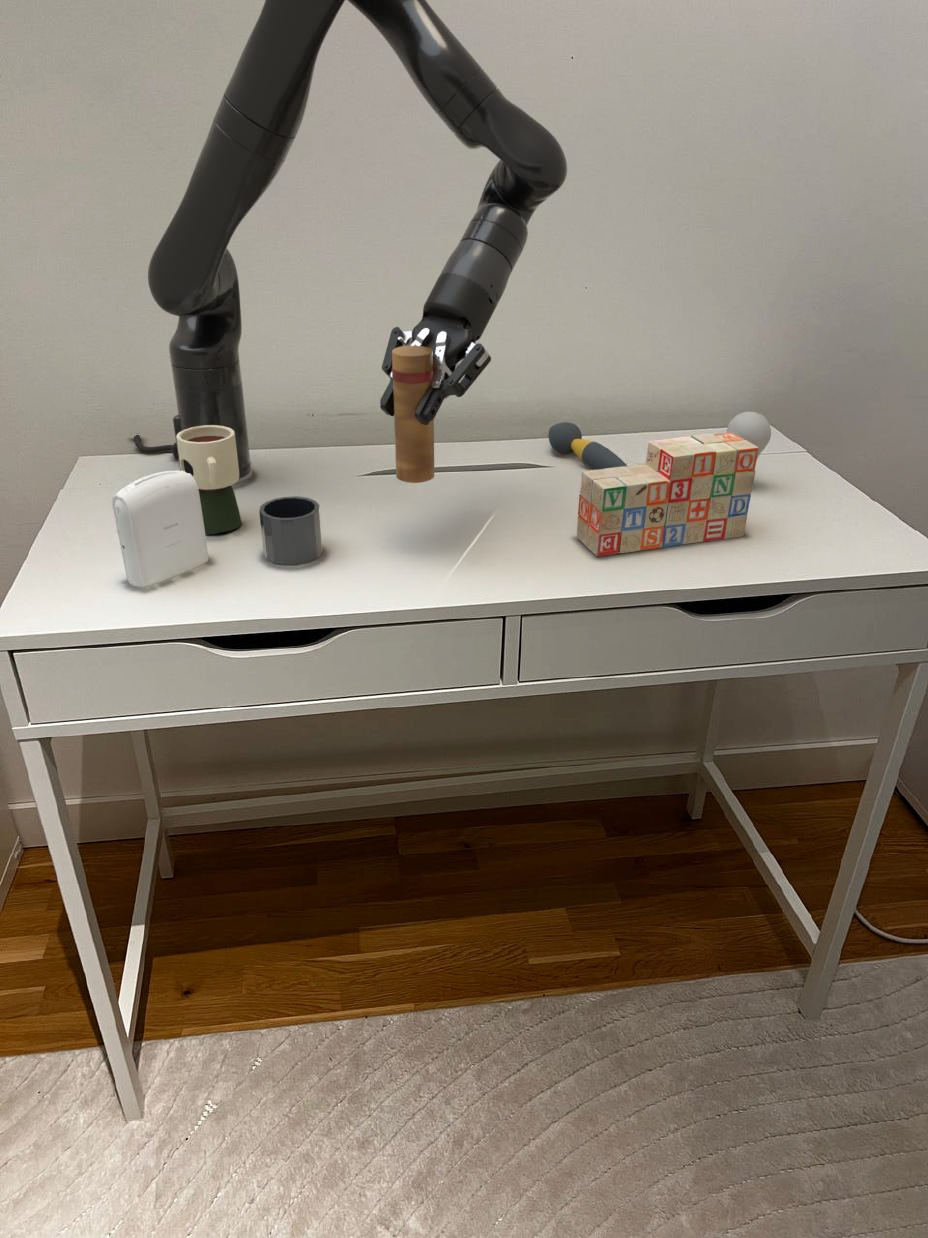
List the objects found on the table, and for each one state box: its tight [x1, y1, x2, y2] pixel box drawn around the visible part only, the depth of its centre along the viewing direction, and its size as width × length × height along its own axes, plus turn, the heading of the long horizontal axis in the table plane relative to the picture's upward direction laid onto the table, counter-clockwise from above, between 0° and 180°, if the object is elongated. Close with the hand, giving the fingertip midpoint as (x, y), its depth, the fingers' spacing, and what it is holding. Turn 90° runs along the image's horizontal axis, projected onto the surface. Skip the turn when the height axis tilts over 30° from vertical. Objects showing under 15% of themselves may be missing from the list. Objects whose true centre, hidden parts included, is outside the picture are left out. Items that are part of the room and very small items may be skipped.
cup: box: [258, 495, 324, 567], centre depth 119 cm, size 7×7×6 cm
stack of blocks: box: [576, 432, 759, 557], centre depth 123 cm, size 21×6×12 cm, turn 109°
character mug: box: [175, 425, 243, 536], centre depth 124 cm, size 11×7×13 cm, turn 19°
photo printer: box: [111, 470, 209, 588], centre depth 113 cm, size 10×4×12 cm, turn 140°
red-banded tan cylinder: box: [392, 346, 435, 484], centre depth 113 cm, size 5×5×15 cm
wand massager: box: [547, 421, 628, 470], centre depth 148 cm, size 20×5×5 cm, turn 38°
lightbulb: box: [725, 411, 772, 459], centre depth 139 cm, size 6×6×11 cm
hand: (403, 415), depth 111 cm, fingers closed on red-banded tan cylinder, 4 cm apart
